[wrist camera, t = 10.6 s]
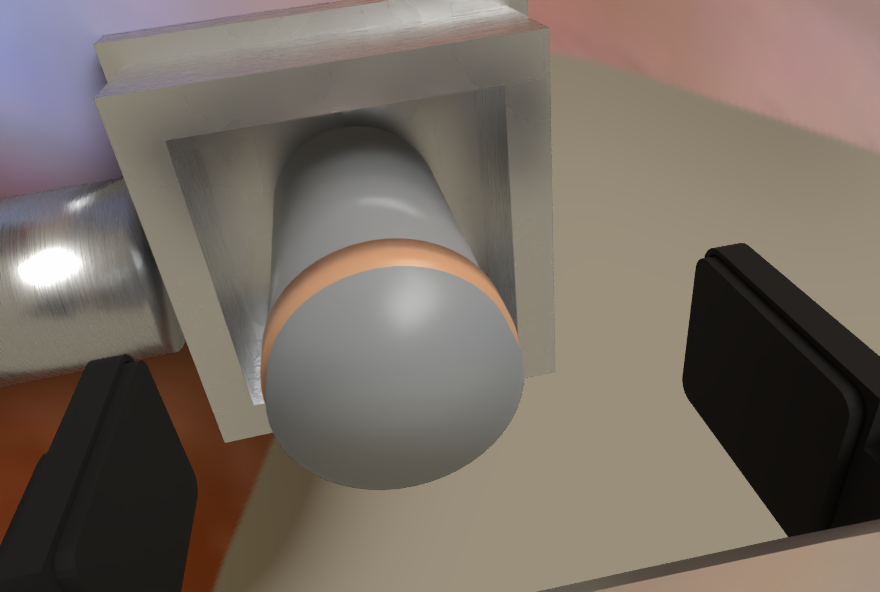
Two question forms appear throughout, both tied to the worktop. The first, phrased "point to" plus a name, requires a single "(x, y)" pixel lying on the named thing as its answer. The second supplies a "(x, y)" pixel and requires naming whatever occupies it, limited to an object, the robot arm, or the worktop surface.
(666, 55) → the worktop surface
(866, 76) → the worktop surface
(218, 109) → the fitting
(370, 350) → the canister
